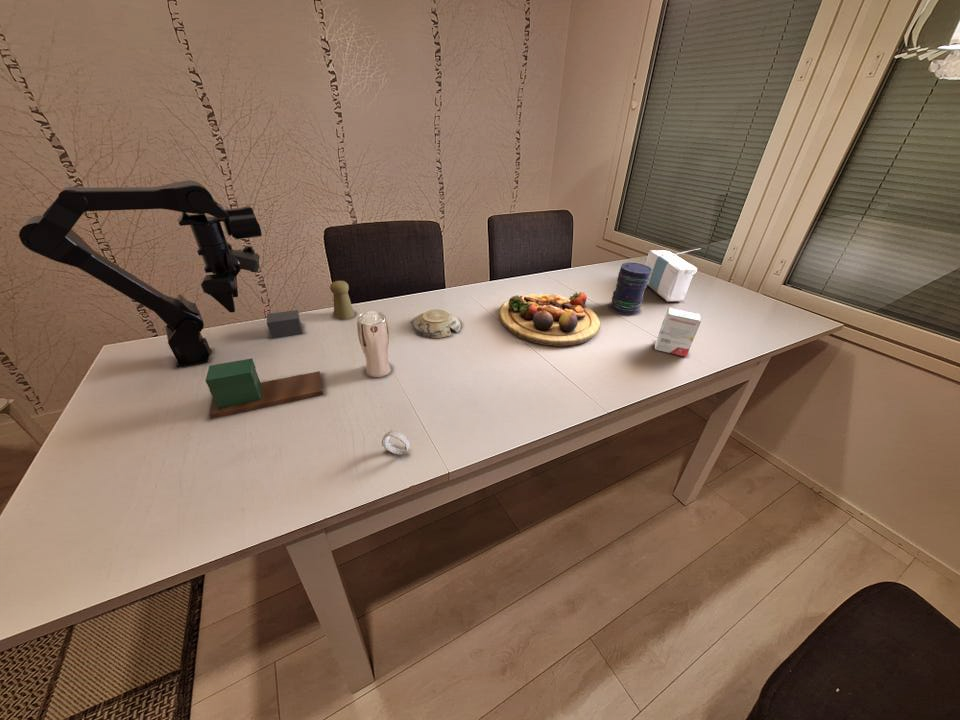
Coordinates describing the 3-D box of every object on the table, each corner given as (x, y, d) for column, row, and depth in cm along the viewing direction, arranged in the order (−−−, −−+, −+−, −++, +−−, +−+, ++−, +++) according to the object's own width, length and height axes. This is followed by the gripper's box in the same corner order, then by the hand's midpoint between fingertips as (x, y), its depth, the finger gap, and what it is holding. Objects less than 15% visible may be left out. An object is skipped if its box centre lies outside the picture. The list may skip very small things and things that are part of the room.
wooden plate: (567, 296, 136) (571, 274, 132) (619, 339, 112) (627, 315, 107) (485, 304, 127) (487, 282, 122) (523, 354, 102) (526, 328, 98)
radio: (638, 281, 152) (654, 231, 141) (657, 281, 153) (674, 232, 142) (665, 303, 135) (684, 249, 124) (685, 303, 136) (707, 249, 125)
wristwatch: (389, 443, 73) (386, 425, 71) (412, 450, 72) (410, 431, 69) (382, 454, 71) (379, 436, 68) (405, 461, 70) (403, 442, 67)
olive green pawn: (348, 320, 113) (342, 287, 107) (330, 318, 114) (323, 284, 108) (357, 312, 118) (352, 279, 112) (340, 309, 119) (334, 277, 113)
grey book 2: (271, 338, 103) (269, 330, 102) (271, 329, 107) (269, 321, 106) (302, 333, 106) (300, 326, 105) (301, 324, 110) (299, 317, 109)
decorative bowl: (426, 311, 121) (402, 331, 110) (426, 300, 119) (401, 319, 108) (468, 321, 117) (447, 343, 105) (468, 310, 115) (447, 332, 103)
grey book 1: (269, 330, 102) (266, 322, 100) (269, 321, 106) (267, 313, 104) (300, 326, 105) (298, 318, 103) (299, 317, 109) (297, 309, 107)
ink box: (686, 349, 109) (701, 313, 102) (686, 357, 105) (702, 321, 98) (655, 341, 112) (668, 306, 105) (654, 349, 108) (667, 313, 101)
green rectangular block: (209, 390, 75) (205, 380, 73) (213, 374, 79) (209, 365, 77) (254, 381, 78) (250, 372, 76) (255, 367, 82) (252, 357, 80)
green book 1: (213, 399, 76) (209, 390, 75) (217, 384, 80) (212, 374, 79) (257, 391, 79) (253, 381, 78) (258, 376, 83) (255, 367, 82)
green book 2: (218, 408, 77) (213, 399, 76) (221, 392, 82) (217, 384, 80) (260, 400, 80) (257, 391, 79) (261, 385, 85) (258, 376, 83)
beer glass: (367, 381, 89) (359, 327, 81) (361, 366, 94) (352, 313, 86) (396, 374, 92) (390, 321, 84) (388, 360, 97) (382, 308, 89)
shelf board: (210, 418, 77) (208, 414, 76) (215, 395, 83) (213, 391, 82) (323, 394, 85) (322, 390, 84) (320, 375, 91) (319, 371, 90)
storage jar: (641, 307, 131) (655, 266, 123) (635, 317, 124) (648, 275, 116) (614, 300, 135) (624, 260, 127) (606, 309, 128) (617, 268, 120)
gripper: (249, 252, 81) (269, 315, 89) (253, 229, 94) (270, 286, 103) (188, 256, 77) (215, 323, 85) (202, 232, 90) (224, 291, 99)
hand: (234, 304), depth 93 cm, fingers open, 9 cm apart
